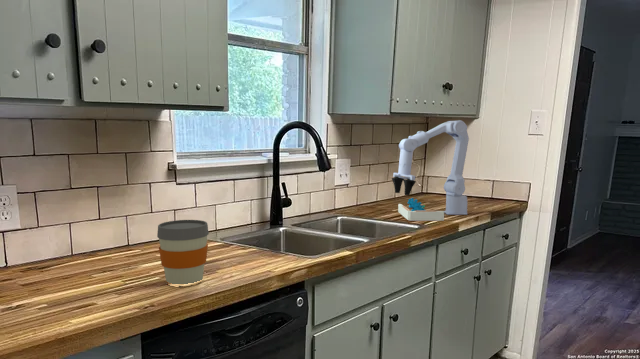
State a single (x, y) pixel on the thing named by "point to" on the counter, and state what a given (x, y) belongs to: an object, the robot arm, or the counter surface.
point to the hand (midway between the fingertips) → (402, 194)
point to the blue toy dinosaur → (415, 205)
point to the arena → (420, 214)
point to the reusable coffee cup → (183, 250)
